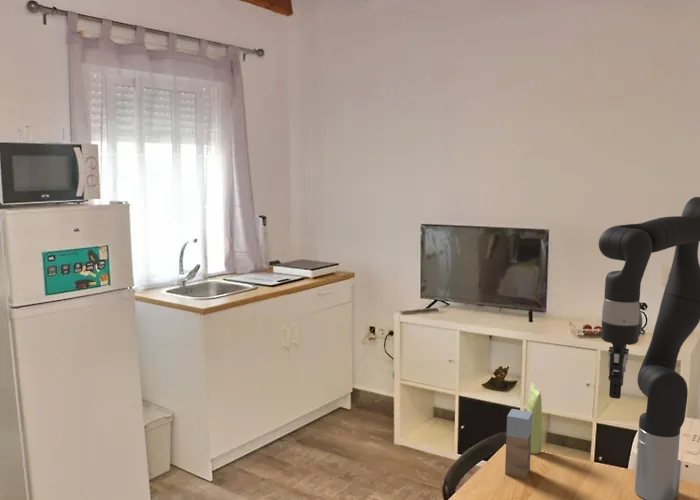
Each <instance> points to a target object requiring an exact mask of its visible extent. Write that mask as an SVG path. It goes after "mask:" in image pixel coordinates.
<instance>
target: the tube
mask: <svg viewBox="0 0 700 500" xmlns="http://www.w3.org/2000/svg"><path fill="white" fill-rule="evenodd" d="M529 388H530V389H529V395H528V401H527V407H526V411H528V412H532V432H531V454H535V455H537V454H540V453H541V452H542V443H543V442H542V439H543V437H542V436H543V432H542V431H543V411H542V409H543V408H542V394H541V392H542V391H540V389H539V388H538V387H537V386H536V385H535V384H534V383H533V382H532V381H531V382H530V387H529Z"/></svg>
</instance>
